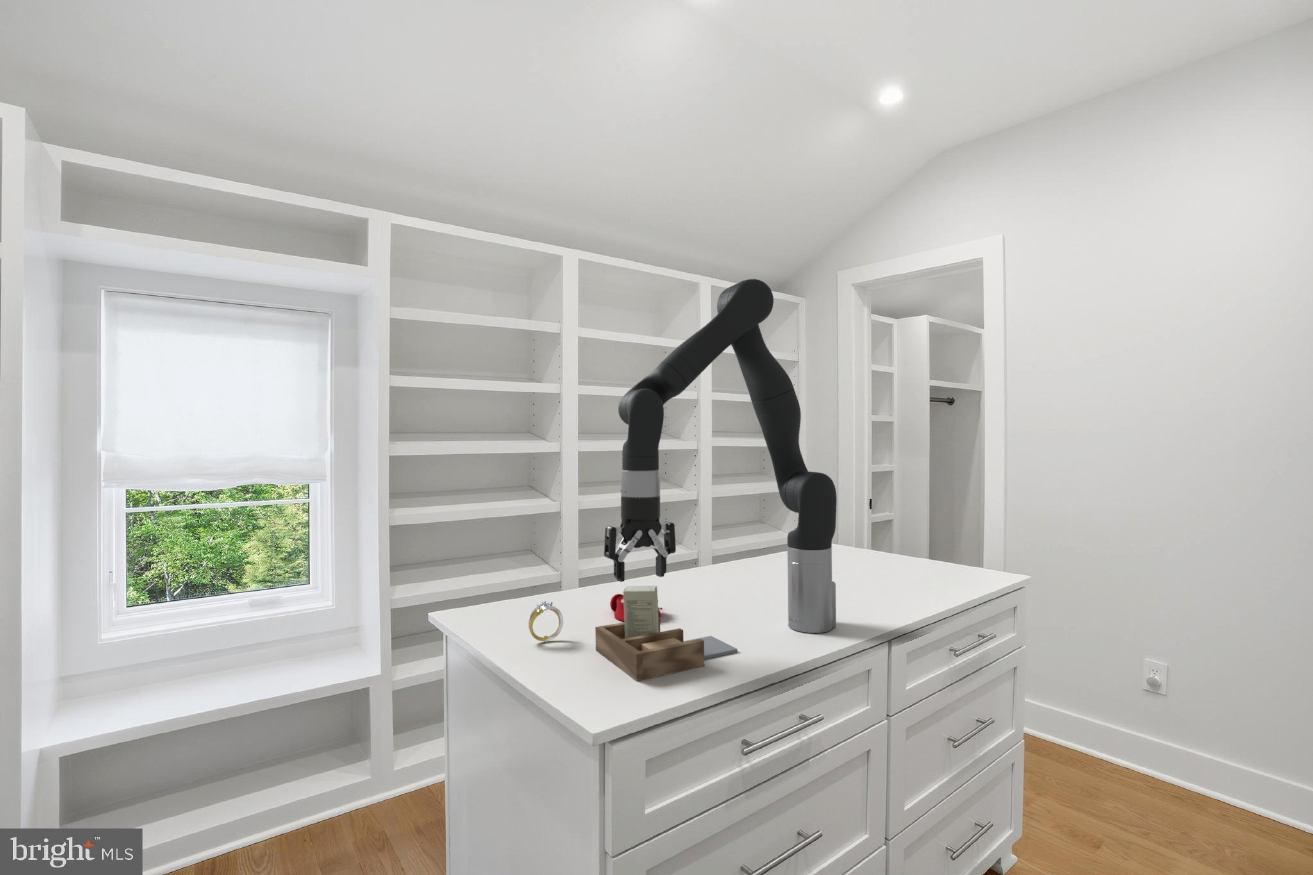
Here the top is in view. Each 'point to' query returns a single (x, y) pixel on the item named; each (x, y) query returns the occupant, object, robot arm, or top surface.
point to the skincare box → (640, 610)
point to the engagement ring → (537, 612)
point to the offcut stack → (659, 643)
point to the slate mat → (715, 647)
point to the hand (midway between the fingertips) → (640, 578)
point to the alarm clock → (621, 607)
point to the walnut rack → (648, 652)
